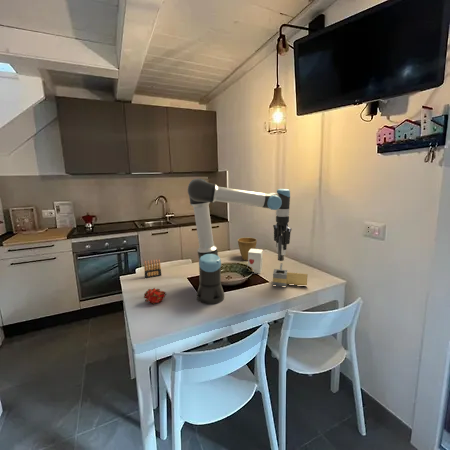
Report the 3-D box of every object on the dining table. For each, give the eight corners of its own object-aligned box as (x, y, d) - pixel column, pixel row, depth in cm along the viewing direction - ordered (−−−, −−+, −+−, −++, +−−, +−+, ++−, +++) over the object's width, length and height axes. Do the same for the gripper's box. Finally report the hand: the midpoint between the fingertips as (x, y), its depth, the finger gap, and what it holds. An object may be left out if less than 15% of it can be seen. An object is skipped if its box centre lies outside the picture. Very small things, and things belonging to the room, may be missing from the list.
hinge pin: (283, 261, 160) (284, 236, 157) (277, 260, 161) (278, 236, 158) (283, 259, 163) (284, 235, 160) (277, 258, 164) (278, 235, 161)
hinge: (306, 289, 157) (307, 276, 156) (272, 286, 162) (273, 273, 161) (305, 276, 176) (306, 265, 175) (275, 274, 181) (275, 262, 180)
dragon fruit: (142, 306, 141) (165, 305, 146) (144, 303, 134) (168, 302, 139) (142, 290, 145) (165, 289, 149) (144, 286, 138) (167, 286, 142)
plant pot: (247, 255, 222) (247, 236, 219) (260, 259, 211) (260, 239, 208) (233, 258, 213) (233, 239, 210) (246, 263, 202) (247, 243, 198)
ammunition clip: (160, 274, 180) (160, 257, 178) (161, 275, 178) (160, 258, 176) (144, 277, 176) (143, 260, 173) (145, 278, 174) (143, 261, 172)
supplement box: (247, 272, 184) (247, 251, 181) (250, 268, 192) (250, 248, 189) (260, 274, 181) (260, 253, 178) (262, 269, 190) (263, 249, 187)
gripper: (297, 217, 151) (295, 256, 156) (277, 213, 165) (276, 249, 170) (287, 218, 148) (285, 258, 152) (268, 214, 162) (267, 251, 166)
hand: (281, 253), depth 161 cm, fingers closed on hinge pin, 3 cm apart
